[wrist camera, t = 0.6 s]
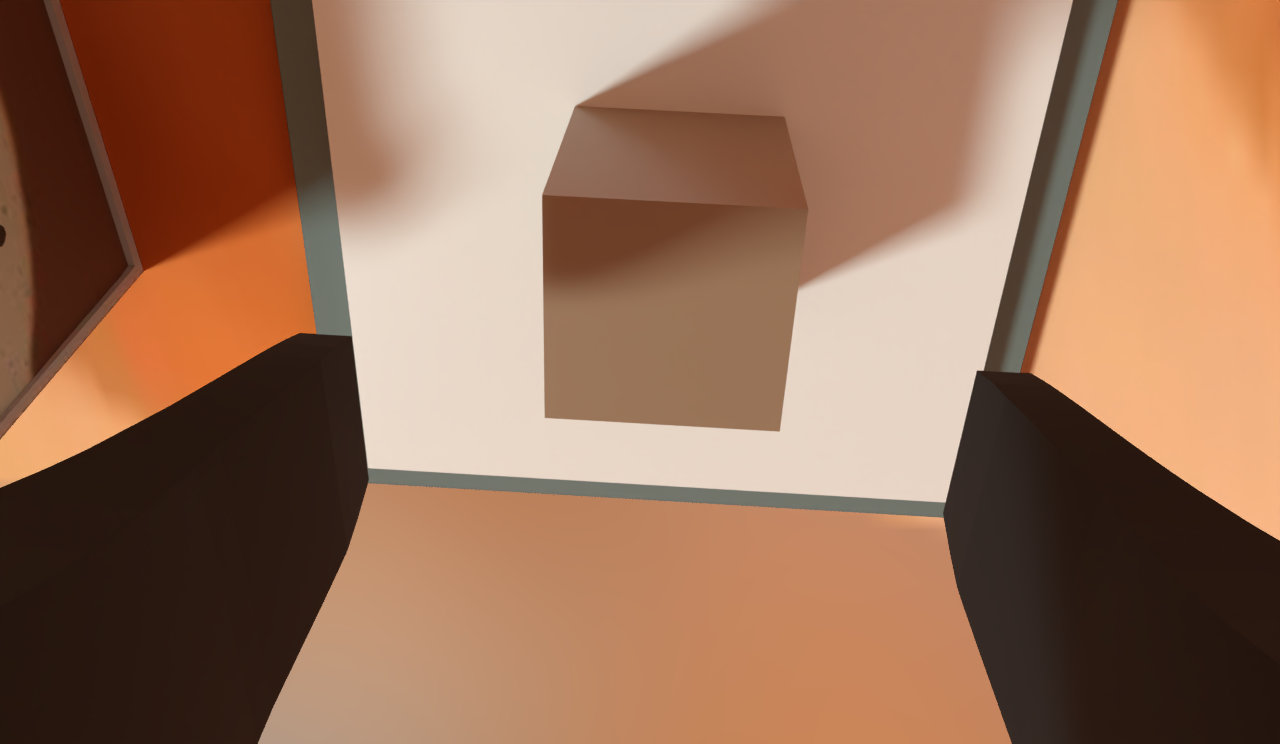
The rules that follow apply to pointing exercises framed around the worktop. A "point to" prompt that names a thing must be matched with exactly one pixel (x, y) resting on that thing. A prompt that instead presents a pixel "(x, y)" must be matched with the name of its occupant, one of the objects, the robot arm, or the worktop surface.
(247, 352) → the worktop surface
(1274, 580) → the robot arm
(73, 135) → the food container
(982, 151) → the lid
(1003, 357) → the mat
